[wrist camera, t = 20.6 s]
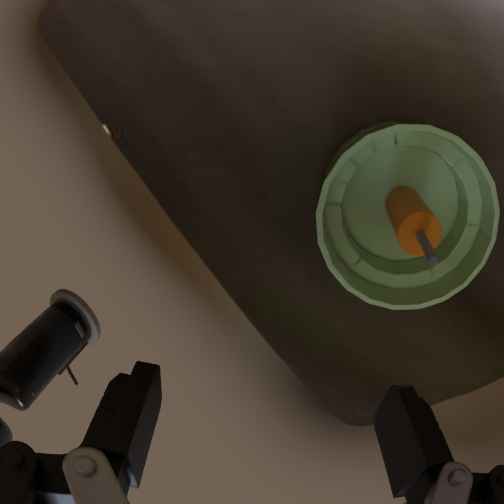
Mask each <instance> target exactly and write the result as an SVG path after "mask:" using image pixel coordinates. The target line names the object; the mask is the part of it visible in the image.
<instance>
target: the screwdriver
mask: <svg viewBox="0 0 504 504" xmlns="http://www.w3.org/2000/svg"><path fill="white" fill-rule="evenodd" d="M385 209H386V212H387V214H388V217H389V219H390V222H391V224H392V227H393V229H394V232H395V235H396V237H397V240H398V242H399V245H400V247H401V248H402V249H403V250H404V251H405V252H406V253H408V254H410V255H412V256H424V255H425V256H426V258H427V261H428V263H429V264H430V265H431V266H435V265H437V264H438V262H439V258H438V256H437V254H436V252H435V250H434V249H435V248H436V247H437V246H438V244H439V242H440V239H441V235H442V229H441V225H440V222H439V221H438V219H437V218H436V217H435V215H434V214H433V213H432V211H431V210H430V209H429V207H428V206H427V205H426V204H425V202H424V201H423V200H422V198H421V197H420V196H419V195H418V193H417V192H416V191H415V190H413V189H412V188H410V187H407V186H400V187H397V188H395V189H393V190H392V191H391V192H390V193H389V194H388V196H387V198H386V201H385Z"/></svg>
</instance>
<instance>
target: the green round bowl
mask: <svg viewBox="0 0 504 504" xmlns="http://www.w3.org/2000/svg"><path fill="white" fill-rule="evenodd" d="M400 186H407V187H410V188H412V189H413V190H415V191H416V192H417V193H418V195H419V196H420V197H421V198H422V200H423V201H424V202H425V204H426V205H427V206H428V207H429V209H430V210H431V211H432V213H433V214H434V215H435V217H436V218H437V219H438V221H439V222H440V225H441V229H442V235H441V239H440V242H439V244H438V246H437V247H436V248H435V249H434V250H435V252H436V254H437V256H438V258H439V262H438V264H437V265H435V266H431V265H430V264H429V263H428V261H427V258H426V256H425V255H424V256H412V255H410V254H408V253H406V252H405V251H404V250H403V249H402V248H401V247H400V245H399V242H398V240H397V237H396V235H395V232H394V229H393V227H392V224H391V222H390V219H389V217H388V214H387V212H386V209H385V201H386V198H387V196H388V194H389V193H390V192H391V191H392V190H393V189H395V188H397V187H400ZM499 214H500V210H499V204H498V198H497V192H496V187H495V183H494V180H493V179H492V177H491V175H490V173H489V171H488V169H487V167H486V165H485V163H484V162H483V160H482V158H481V157H480V156H479V155H478V154H477V153H476V152H475V151H474V150H473V149H472V148H471V147H470V146H469V145H468V144H466V143H465V142H464V141H463V140H462V139H461V138H460V137H458V136H456V135H454V134H452V133H449V132H447V131H444V130H442V129H439V128H437V127H434V126H432V125H428V124H425V123H421V122H417V121H412V120H385V121H382V122H380V123H377V124H374V125H371V126H368V127H365V128H362V129H360V130H359V131H358V132H357V133H355V134H354V135H353V136H352V137H350V138H349V139H348V140H347V141H345V142H344V143H343V144H342V145H341V146H340V147H339V148H338V150H337V152H336V153H335V155H334V156H333V158H332V159H331V161H330V163H329V164H328V166H327V167H326V170H325V174H324V178H323V182H322V186H321V190H320V194H319V199H318V204H317V209H316V225H317V240H318V245H319V247H320V249H321V252H322V254H323V257H324V259H325V262H326V264H327V267H328V268H329V270H330V271H331V272H332V274H333V275H334V276H335V277H336V278H337V279H338V281H339V282H340V283H341V284H342V285H343V286H344V288H345V289H346V290H348V291H349V292H351V293H353V294H354V295H356V296H358V297H359V298H361V299H362V300H364V301H366V302H367V303H369V304H373V305H377V306H381V307H385V308H388V309H392V310H405V309H421V308H424V307H428V306H431V305H434V304H437V303H440V302H443V301H445V300H447V299H448V298H450V297H451V296H453V295H454V294H456V293H457V292H459V291H460V290H462V289H463V288H465V287H466V286H467V285H468V284H469V283H470V282H471V281H472V280H473V278H474V277H475V276H476V275H477V274H478V272H479V271H480V270H481V269H482V268H483V266H484V265H485V263H486V261H487V259H488V257H489V255H490V252H491V250H492V248H493V246H494V243H495V241H496V236H497V229H498V222H499Z"/></svg>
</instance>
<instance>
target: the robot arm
mask: <svg viewBox="0 0 504 504" xmlns="http://www.w3.org/2000/svg"><path fill="white" fill-rule="evenodd" d="M91 335H92V330H91V326H90V324H89V322H88V320H87V318H86V316H85V315H84V314H83V312H82V311H81V310H80V309H79V308H78V307H77V306H76V305H75V304H73V303H72V302H70V301H69V300H67V299H63V298H59V299H57V300H56V301H55V302H54V303H53V304H52V305H51V306H50V307H49V308H48V309H46V310H45V311H44V312H43V313H42V314H41V315H39V316H38V317H37V318H36V319H35V320H34V321H33V322H32V323H31V324H30V325H28V326H27V327H26V328H25V329H24V330H23V331H22V332H21V333H20V334H19V335H18V336H16V337H15V338H14V339H13V340H12V341H11V342H10V343H9V344H8V345H7V346H6V347H5V348H4V349H3V350H2V351H1V352H0V402H2V403H5V404H7V405H9V406H11V407H13V408H15V409H18V410H21V411H24V410H26V409H28V408H29V407H30V405H31V404H32V403H33V402H34V401H35V400H36V398H37V397H38V396H39V395H40V393H41V392H42V391H43V390H44V389H45V388H46V386H47V385H48V384H49V383H50V382H51V381H52V379H53V378H54V377H55V376H56V375H61V374H62V373H63V371H64V370H65V369H66V368H67V371H68V373H69V375H70V376H71V378H72V380H73V381H74V384H75V385H78V382H77V380H76V379H75V377H74V375H73V373H72V371H71V369H70V367H69V364H70V363H71V362H72V361H73V360H74V359H75V357H76V356H77V355H78V354H79V353H80V352H81V351H82V350H83V349H84V348H85V347H86V345H87V344H88V340H89V339H90V338H91ZM161 400H162V391H161V376H160V366H159V365H156V364H151V363H146V362H141V361H137V362H136V363H135V366H134V368H133V370H132V373H131V375H128V374H124V373H119V374H118V375H117V376H116V377H115V378H113V379H112V380H111V381H110V382H109V384H108V386H107V388H106V390H105V393H104V396H103V397H102V399H101V401H100V404H99V406H98V408H97V410H96V412H95V415H94V417H93V419H92V421H91V423H90V426H89V428H88V430H87V433H86V435H85V437H84V440H83V442H82V443H81V445H80V446H79V447H78V448H76V449H73V450H71V451H70V452H69V453H67V454H59V455H58V454H44V453H35V452H34V451H33V449H32V448H31V447H30V446H29V445H27V444H25V443H24V442H20V441H12V433H11V430H10V428H9V427H8V425H7V424H6V423H5V422H4V421H3V420H2V419H1V418H0V504H130V503H129V501H128V499H127V493H128V490H129V486H131V487H135V488H139V485H140V481H141V477H142V474H143V470H144V466H145V462H146V459H147V454H148V451H149V447H150V444H151V440H152V437H153V433H154V429H155V426H156V422H157V419H158V415H159V412H160V407H161ZM435 419H436V418H435V416H434V414H433V411H432V409H431V407H430V406H429V405H428V404H427V403H426V402H425V401H424V400H423V399H422V398H418V395H417V393H416V391H415V389H414V387H413V386H412V385H393V386H391V387H390V388H389V390H388V392H387V393H386V395H385V397H384V399H383V400H382V402H381V404H380V405H379V407H378V409H377V411H376V413H375V416H374V428H375V432H376V435H377V438H378V442H379V446H380V449H381V452H382V456H383V460H384V463H385V467H386V471H387V475H388V478H389V482H390V486H391V490H392V493H393V498H398V497H403V496H405V498H406V501H405V502H404V504H504V465H498V466H496V467H495V468H493V469H492V470H491V471H490V472H489V473H472V472H471V471H470V469H469V468H468V467H467V466H466V465H464V464H463V463H460V462H455V461H454V459H453V457H452V454H451V452H450V450H449V447H448V445H447V443H446V440H445V438H444V436H443V433H442V431H441V429H439V425H438V422H437V421H436V420H435Z"/></svg>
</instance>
